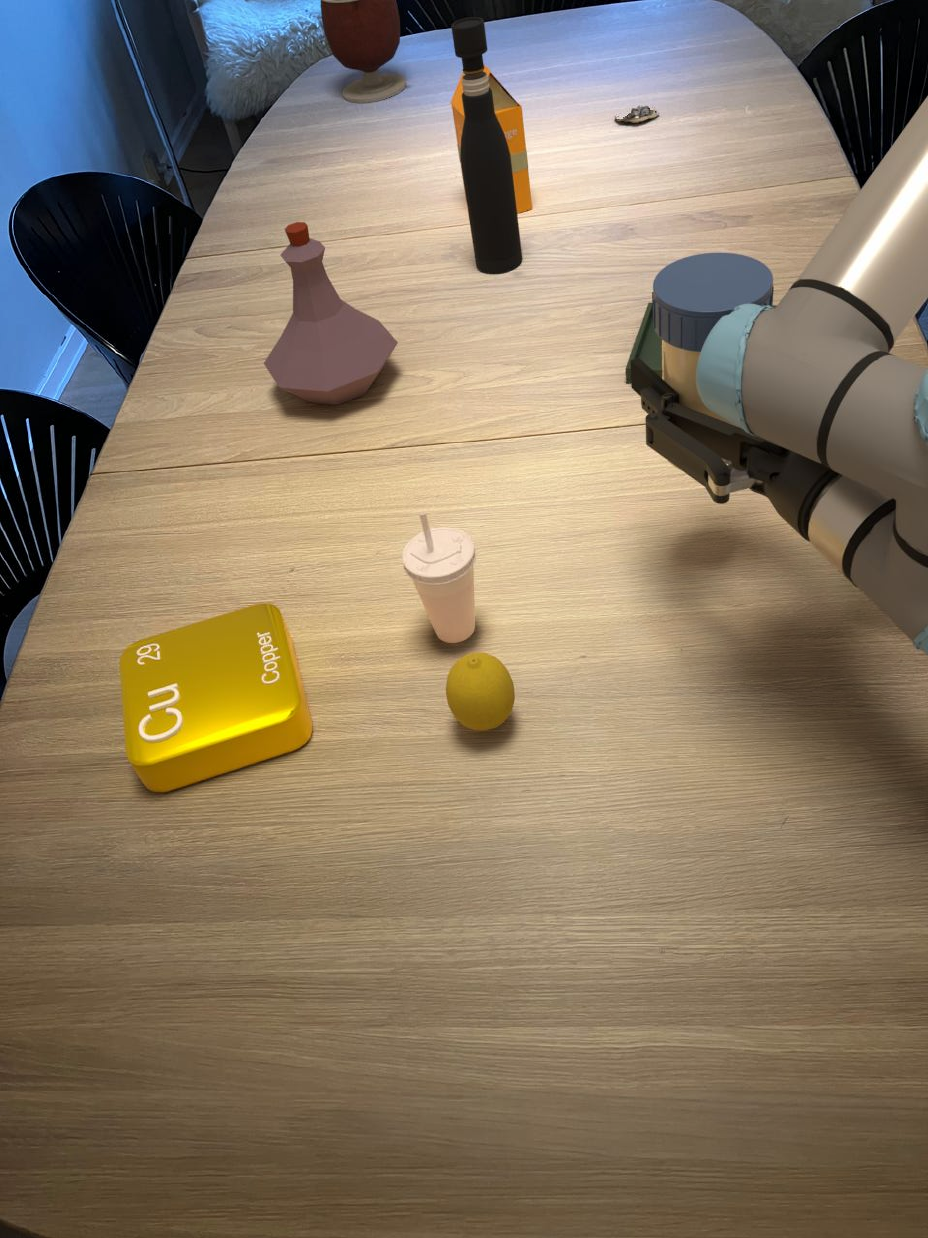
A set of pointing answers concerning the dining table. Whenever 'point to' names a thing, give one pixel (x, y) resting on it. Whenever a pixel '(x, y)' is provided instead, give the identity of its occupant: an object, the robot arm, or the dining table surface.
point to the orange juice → (512, 128)
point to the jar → (684, 378)
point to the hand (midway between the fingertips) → (678, 356)
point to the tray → (648, 345)
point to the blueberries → (639, 114)
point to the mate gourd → (364, 44)
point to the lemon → (480, 691)
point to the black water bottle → (485, 159)
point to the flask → (324, 333)
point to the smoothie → (444, 578)
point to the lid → (705, 295)
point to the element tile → (212, 698)
